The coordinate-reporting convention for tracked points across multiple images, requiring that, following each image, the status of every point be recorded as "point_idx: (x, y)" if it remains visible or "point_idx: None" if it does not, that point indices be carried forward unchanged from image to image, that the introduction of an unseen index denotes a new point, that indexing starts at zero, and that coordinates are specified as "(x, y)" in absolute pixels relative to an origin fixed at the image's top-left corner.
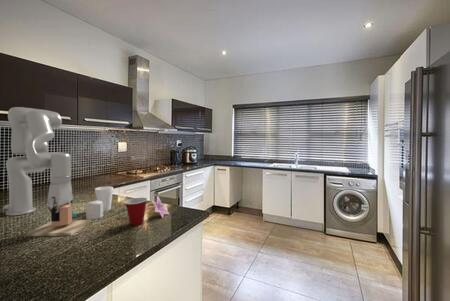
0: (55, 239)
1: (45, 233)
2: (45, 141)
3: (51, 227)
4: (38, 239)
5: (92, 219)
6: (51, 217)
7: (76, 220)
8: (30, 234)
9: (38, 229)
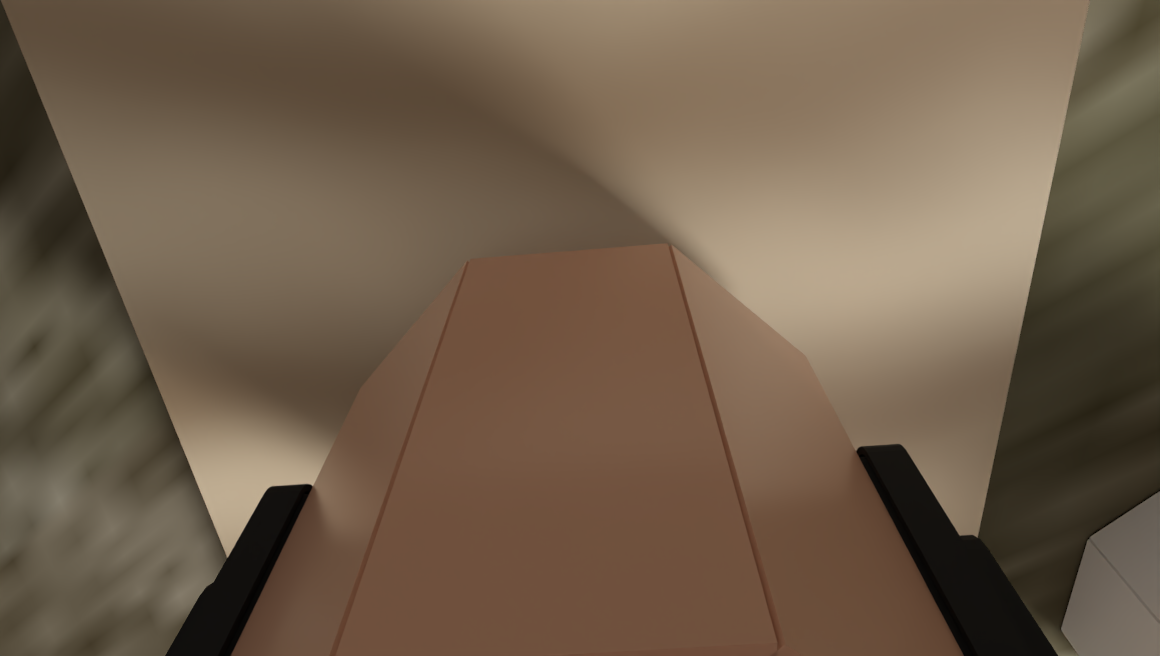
0: (124, 582)
1: (156, 362)
2: None
3: (469, 245)
4: (14, 331)
5: (1068, 611)
6: (223, 573)
7: (935, 481)
8: (26, 20)
9: (285, 2)
